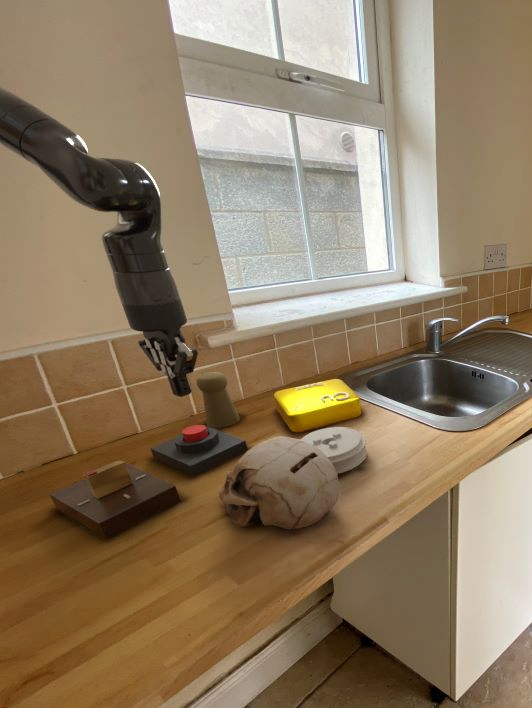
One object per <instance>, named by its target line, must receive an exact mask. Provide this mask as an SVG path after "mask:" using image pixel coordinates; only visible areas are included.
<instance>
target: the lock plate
mask: <svg viewBox="0 0 532 708" xmlns="http://www.w3.org/2000/svg"><path fill="white" fill-rule="evenodd" d="M124 463H125V465H126V467H127V470H128V472H129V475H130V477H131V479H132V482H133V483H132V484H130V485H128V486H125V487H123V488H121V489H119V490H117V491H114V492H112V493H110V494H108V495H105V496H103V497H101V498H99V499H97V498H96V497H94V496H93V495H92V493H91V491H90V489H89V486H88V484H87V482H86V480H85V479H83V480H80V481H77V482H75V483H73V484H70V485H68V486H66V487H64V488H61V489H59V490H56V491H53V492H52V493H49V498H51V500H52V503H54V504H53V505H54V506H55V508H56V510H58V511H59V512H61V513H62V514H64V515H66V516H67V517H69V518H71V520H74V521H76V522H77V523H79V524H81V525H83V526H84V527H86V528H87V529H89V530H90V531H93V532H94V533H96V534H97V535H99V536H101V538H102V537H103V538H104V539H105V540H109V539H111V538H112V537H114V536H117V535H118V534H120V533H122V532H124V531H126V530H128V529H129V528H132V527H134V526H135V525H137V524H140V523H141V522H142V521H145V520H146V519H148V518H151V517H153V516H154V515H156V514H158V513H160V512H162V511H164V510H166V509H168V508H170V507H172V506H174V505H175V504H178V503H179V502H181V497H180V494H179V491H178V489H177V486H176V485H175V484H173V483H170V482H168V481H166V480H164V479H162V478H160V477H158V476H156V475H153V474H151V473H149V472H147V471H145V470H143V469H141V468H139V467H136V466H134V465H132V464H130V463H128V462H124Z"/></svg>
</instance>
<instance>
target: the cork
mask: <svg viewBox="0 0 532 708" xmlns="http://www.w3.org/2000/svg"><path fill="white" fill-rule="evenodd" d="M195 381H196V383H195V384H196V386H197V388H198V389H199V390H200V391H201V392H202V399H203V407H204V414H205V421H206V426H208V427H211V428H214V429H222V428H226V427H230V426H233V425H235V424H237V423H239V421H240V419H241V417H240V414H239V413H238V411H237V409H236V406H235V404H234V402H233V400H232V397H231V395H230V393H229V391H228V389H227V386H228V379H227V377H226V375H225V374H224V373H222V372H219V371H210V372H205V373H203V374H201V375H199V376H198V377H197V378H196V380H195Z"/></svg>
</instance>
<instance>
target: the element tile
mask: <svg viewBox="0 0 532 708" xmlns="http://www.w3.org/2000/svg"><path fill="white" fill-rule="evenodd" d="M273 398H274V402H275V406H276V410H277V412H278V414H279V415H280V417H281V419H282V420H283V421H284V422H285V424H286V425H287V427H288V428H289V430H290V431H291V432H294V433H304V432H308V431H312V430H316V429H319V428H322V427H326V426H329V425H330V426H331V425H334V424H336V423H342V422H345V421H348V420H352V419H355V418H358V417H360V416H361V415H362V404H361V398H360V395H358V393H356V392H355V391H354V390H353V389H352V388H351V387H349V385H347V384H346V382H344V381H343V380H342V379H339V378H332V379H327V380H323V381H318V382H313V383H308V384H305V385H299V386H296V387H290V388H285V389H280V390H277V391H275V393H274V395H273Z"/></svg>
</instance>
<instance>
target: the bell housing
mask: <svg viewBox="0 0 532 708" xmlns="http://www.w3.org/2000/svg"><path fill="white" fill-rule="evenodd" d="M204 426H205V427H206V429H207V433H208V436H207V437H206V438H204V439H202V440H198V441H193V442H186V441H185V439H184V437H183V434H182V432H181V433H180V434H179V435H177V436H176V437H174V438H172V439H169V440H167V441H165V442H162V443H160V444H157V445H155V446H152V447H150V451H151V455H152V456H153V459H155V460H157V461H160V462H161V463H164V464H166V465H167V466H170V467H173V468H176V469H177V470H179V471H181V472H184V473H186V474H188V475H191V476H193V477H196V476H198V475H200V474H202V473H204V472H205V471H208V470H210V469H212V468H215V467H217V466H218V465H220V464H222V463H224V462H226V461H229V460H230V459H232V458H235V457H237V456H238V455H241V454H242V453H246V452H247V451H248V450H249V449H248V445H247V442H246V440H245V439H243V438H240V437H238V436H234V435H232V434H229V433H227V432H224V431H222V430H219V429H217V428H211V427H208V426H207V425H204Z"/></svg>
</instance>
